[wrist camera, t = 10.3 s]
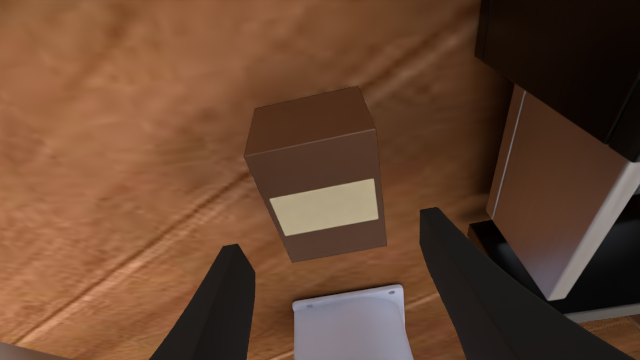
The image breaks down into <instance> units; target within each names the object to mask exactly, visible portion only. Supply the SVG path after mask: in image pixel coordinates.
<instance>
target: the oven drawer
mask: <svg viewBox="0 0 640 360" xmlns="http://www.w3.org/2000/svg"><path fill="white" fill-rule="evenodd" d="M486 212H487V213H488V215H489V216H490V217H491V219H492V220H488V221H482V222H477V223H471V224H469V228H468V234H467V235H468V237H469V239H470V241H471V242H472V243H473V244H474V245H475V246H476V247H478V248H479V249H480V250H481V251H482V252H483V253H484V254H485V255H486V256H487V257H488V258H490V259H491V260H492V261H493V262H494V263H495V264H497V265H498V266H499V267H500V268H501V269H502V270H504V271H505V272H506V273H507V274H509V275H510V276H511V277H512V278H513V279H515V280H516V281H517V282H519V283H520V284H521V285H522V286H524V287H525V288H526V289H528V290H529V291H530V292H532V293H533V294H534V295H536V296H537V297H539V298H540V299H541V300H543V301H544V302H546V303H547V304H548V305H550V306H551V307H553V308H554V309H555V310H557V311H558V312H560V313H561V314H563V315H565V316H566V317H568V318H569V319H571V320H572V321H574V322H575V323H580V322H587V321H594V320H601V319H608V318H614V317H621V316H628V315H635V314H640V162H639V163H632V162H630V161H628V160H627V159H625V158H624V157H622V156H621V155H619V154H618V153H617V152H615V151H614V150H612V149H611V148H609V147H608V145H605V144H603V143H601V142H600V141H599V140H597V139H596V138H594V137H593V136H591V135H590V134H588V133H587V132H585V131H584V130H582V129H581V128H579V127H578V126H577V125H575V124H574V123H572V122H571V121H569V120H568V119H566V118H565V117H563V116H562V115H560V114H559V113H557V112H556V111H554V110H553V109H552V108H550V107H549V106H547V105H546V104H544V103H543V102H541V101H540V100H538V99H537V98H535V97H534V96H532V95H531V94H529V93H528V92H527V91H525V90H524V89H522V88H521V87H519V86H518V85H516V84H515V85H514V90H513V94H512V98H511V103H510V107H509V112H508V116H507V120H506V125H505V129H504V134H503V138H502V142H501V147H500V151H499V156H498V160H497V165H496V169H495V173H494V178H493V182H492V187H491V191H490V195H489V200H488V204H487V209H486Z"/></svg>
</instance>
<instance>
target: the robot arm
mask: <svg viewBox="0 0 640 360" xmlns="http://www.w3.org/2000/svg"><path fill="white" fill-rule="evenodd" d="M420 246H421V249H422V253H423V256H424V259H425V262H426V265H427V268H428V270H429V272H430V274H431V277H432V279H433V281H434V283H435V285H436V288H437V290H438V292H439V294H440V296H441V299H442V301H443V303H444V305H445V307H446V309H447V312H448V314H449V316H450V318H451V320H452V322H453V325H454V327H455V329H456V332H457V334H458V337H459V340H460V342H461V345H462V348H463V351H464V354H465V356H466V359H467V360H636V359H634V358H632V357H630V356H629V355H627V354H625V353H623V352H622V351H620V350H618V349H617V348H615V347H613V346H612V345H610V344H609V343H607V342H605V341H604V340H602V339H600V338H599V337H597V336H595V335H594V334H592V333H591V332H589V331H588V330H586V329H585V328H583V327H581V326H580V325H578V324H577V323H575V322H574V321H572V320H571V319H569V318H568V317H566V316H565V315H563V314H561V313H560V312H558V311H557V310H555V309H554V308H553V307H551V306H550V305H548V304H547V303H546V302H544V301H543V300H541V299H540V298H539V297H537V296H536V295H534V294H533V293H532V292H530V291H529V290H528V289H526V288H525V287H524V286H522V285H521V284H520V283H519V282H517V281H516V280H515V279H513V278H512V277H511V276H510V275H509V274H507V273H506V272H505V271H504V270H502V269H501V268H500V267H499V266H498V265H497V264H495V263H494V262H493V261H492V260H491V259H490V258H488V257H487V256H486V255H485V254H484V253H483V252H482V251H481V250H480V249H479V248H478V247H476V246H475V245H474V244H473V243H472V242H471V241H470V240H469V239H468V238H467V237H466V236H465V235H464V234H463V233H462V232H461V231H460V230H459V229H458V228H457V227H456V226H455V225H454V224H453V223H452V222H451V221H450V220H449V219H448V218H447V217H446V216H445V214H444V213H443V212H442V211H441V210H440V209H439V208H437V207H433V208H428V209H423V210H420ZM254 301H255V271H254V269H253V268H252V266H251V264H250V263H249V261H248V260H247V258H246V256H245V255H244V253H243V251H242V250H241V248H240V246H239V245H238V244H233V245H227V246H223V247H222V249H221V251H220V252H219V254H218V256H217V257H216V259H215V261H214V263H213V264H212V266H211V268H210V270H209V271H208V273H207V275H206V276H205V278H204V280H203V281H202V283H201V285H200V286H199V288H198V290H197V291H196V293H195V295H194V296H193V298H192V299H191V301H190V303H189V304H188V306H187V307H186V309H185V310H184V312H183V313H182V315H181V316H180V318H179V319H178V321H177V322H176V324H175V325H174V327H173V328H172V330H171V331H170V332H169V334H168V335H167V337H166V338H165V339H164V341H163V342H162V343H161V345H160V346H159V347H158V349H157V350H156V351H155V352H154V354H153V355H152V356H151V358H150V359H149V360H246V359H247V351H248V344H249V337H250V330H251V323H252V316H253V308H254ZM292 308H293V310H294V360H413V357H412V353H411V349H410V346H409V342H408V339H407V335H406V331H405V316H404V294H403V287H402V286H401V285H399V284H397V285H390V286H384V287H378V288H372V289H366V290H360V291H354V292H348V293H342V294H336V295H330V296H324V297H318V298H311V299H305V300H299V301H295V302H293V304H292Z"/></svg>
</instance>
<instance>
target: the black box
mask: <svg viewBox="0 0 640 360" xmlns="http://www.w3.org/2000/svg"><path fill="white" fill-rule="evenodd" d="M475 57H477V58H478V59H480V60H481V61H484V63H485V64H487V65H488V66H490V67H491V68H493V69H494V70H496V71H497V72H499V73H500V74H502V75H503V76H504V77H506V78H507V79H509V80H510V81H512V82H513V83H515V84H516V85H518V86H519V87H521V88H522V89H524V90H525V91H527V92H528V93H529V94H531V95H532V96H534V97H535V98H537V99H538V100H540V101H541V102H543V103H544V104H546V105H547V106H549V107H550V108H552V109H553V110H554V111H556V112H557V113H559V114H560V115H562V116H563V117H565V118H566V119H568V120H569V121H571V122H572V123H574V124H575V125H577V126H578V127H579V128H581V129H582V130H584V131H585V132H587V133H588V134H590V135H591V136H593V137H594V138H596V139H597V140H599V141H600V142H601V143H603V144H605V145H608V147H609V148H611V149H612V150H614V151H615V152H617V153H618V154H619V155H621V156H622V157H624V158H625V159H627V160H628V161H630V162H632V163H639V162H640V0H482V4H481V11H480V19H479V27H478V35H477V43H476V50H475Z"/></svg>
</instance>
